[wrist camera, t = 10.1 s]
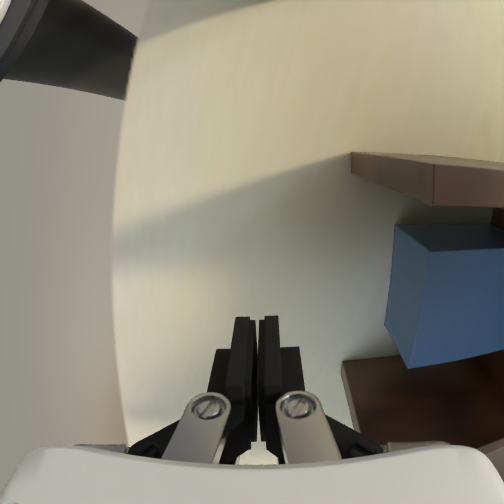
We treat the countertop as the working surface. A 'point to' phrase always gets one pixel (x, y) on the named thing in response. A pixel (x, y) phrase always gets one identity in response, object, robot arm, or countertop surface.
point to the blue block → (446, 292)
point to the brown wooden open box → (444, 374)
